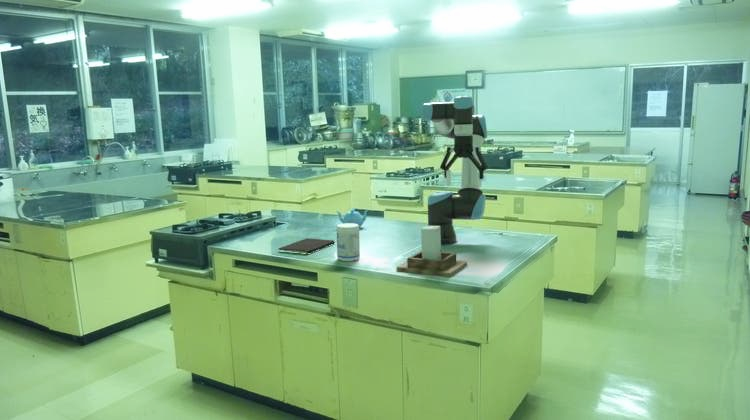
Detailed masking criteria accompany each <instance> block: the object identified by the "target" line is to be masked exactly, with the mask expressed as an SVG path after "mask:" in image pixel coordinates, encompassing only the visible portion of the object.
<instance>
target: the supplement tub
mask: <svg viewBox="0 0 750 420" xmlns="http://www.w3.org/2000/svg"><path fill="white" fill-rule="evenodd" d="M360 247H361V246H360V227H359V225H358V224H354V223H344V224H343V223H339V224H337V225H336V256H337V260H338V259H339V260H338V261H340V260H341V262H355V261H358V260H359V259H360V254H361V253H360V249H361V248H360ZM354 260H355V261H354Z"/></svg>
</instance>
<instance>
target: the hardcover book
mask: <svg viewBox="0 0 750 420" xmlns="http://www.w3.org/2000/svg"><path fill="white" fill-rule="evenodd" d="M334 243H336V241H335V240H331V239H323V238H322V239H320V238H311V237H310V238H303V239H301V240H298V241H296V242H292V243H290V244H287V245H284V246H281V247H279V248H278V251H279V250H284V251H291V252H299V253H306V254H308V253H311V252H313V251H316V250H318V249H321V248H324V247H326V246H329V245H331V244H334ZM334 245H335V244H334ZM331 246H332V245H331ZM329 247H330V246H329ZM326 248H327V247H326ZM324 249H325V248H324ZM321 250H322V249H321ZM316 252H317V251H316ZM311 254H312V253H311Z"/></svg>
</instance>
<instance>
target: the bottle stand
mask: <svg viewBox="0 0 750 420" xmlns="http://www.w3.org/2000/svg"><path fill="white" fill-rule="evenodd" d="M467 266H468V261H465V260H464V261H462V260H457V253H456V252H448V251H441V261H438V260H429V259H422V250H420V251H417V253H415V254H412V255H411V256H408V257H407V258H406V261H405V262H403V263H402V264H400V265H397V266H396V271H397V270H398V271H397V272H403V271H404V273H411V272H413V274H418V275H419V274H421V275H429V276H437V277H445V278H451V277H452V276H455V275H456V274H457V273H459V272H460V271H461V270H463V269H464V268H466V267H467Z"/></svg>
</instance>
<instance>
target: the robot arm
mask: <svg viewBox="0 0 750 420" xmlns="http://www.w3.org/2000/svg"><path fill="white" fill-rule="evenodd" d="M421 119H422V121H427V122H430V121H431V123H432V124H433V126H434V130H435V131H436V133H438V134H439V135H441V136H442V137H445V138H448V139H452V140H453V144H454V146H453V147H452V146H447V147H446V152H445V155H444V157H443V160H442V162H441V163H440V167H439V169H442V170H443V171H444V174H443V175H444V178H446V181H445V182H446V187H450V186H451V185H452V182H451V181H452V177H451V175H452V173H451V169H450V168H451V167H452V166H453V164H454V163H455V162H456V161H457V160H458V158H459V159H462V160H461V185H460V188H459V189H458V190H457V194H453V191H448V190H447V191H446V190H445V191H439V192H435V193H431V194H429V195H428V196H427V226H440V235H441V245H445V244H452V243H456V242H457V234H456V231H455V228H454V224H453V220H464V221H465V220H466V221H467V220H471V221H474V220H482V218H483V216H484V213H485V207H486V198H487V196H486V195H485V194H484V193H483V192H484V191H483V190H482V189H481V187H482V180H483V179H484V172H485V171H486V170H488V169H489V166H488V163H487V162H486V159H485V158H484V156H483V154H482V148H481V147H482V144H484V141H485V139H487V138H488V129H487V121H486V116H485V115H483V114H475V106H474V103H473V97H472V96H456V97H454V99H453V101H445V102H426V103H422V105H421ZM453 151H454V154H453V155H452V152H453ZM451 155H452V156H453V157H452V158H451V159H450V157H451Z"/></svg>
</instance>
